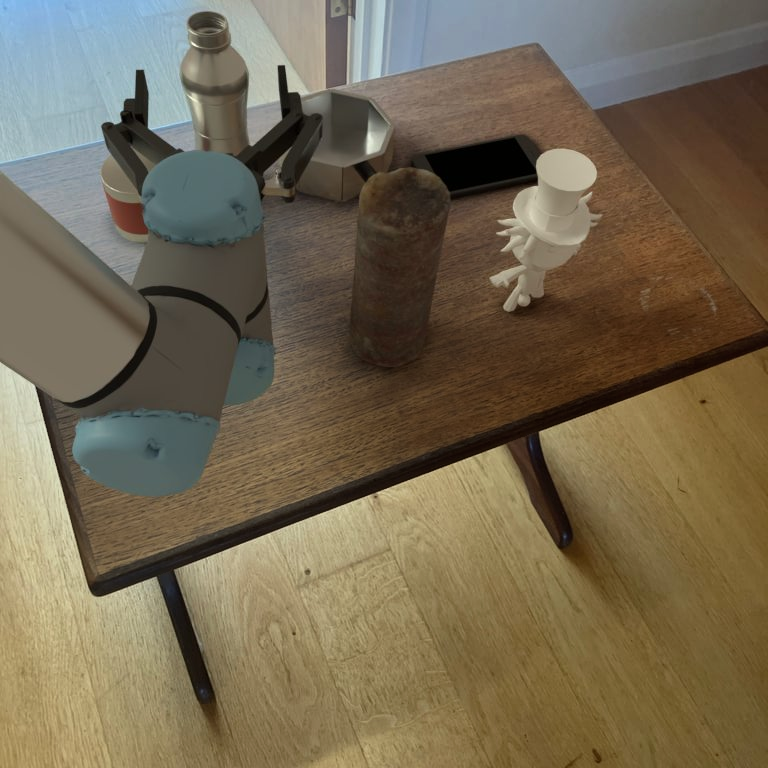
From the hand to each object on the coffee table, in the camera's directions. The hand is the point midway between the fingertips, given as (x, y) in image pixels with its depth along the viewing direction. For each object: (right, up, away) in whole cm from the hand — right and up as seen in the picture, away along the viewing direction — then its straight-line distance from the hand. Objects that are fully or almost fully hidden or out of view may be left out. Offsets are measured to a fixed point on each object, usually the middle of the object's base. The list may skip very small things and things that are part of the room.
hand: (212, 78), depth 81 cm
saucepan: (+13, -7, +11) cm, 18 cm away
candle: (+17, -26, -1) cm, 32 cm away
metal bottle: (0, -9, +9) cm, 13 cm away
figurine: (+31, -22, +3) cm, 38 cm away
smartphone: (+28, -6, +13) cm, 31 cm away
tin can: (-8, -13, +5) cm, 16 cm away
